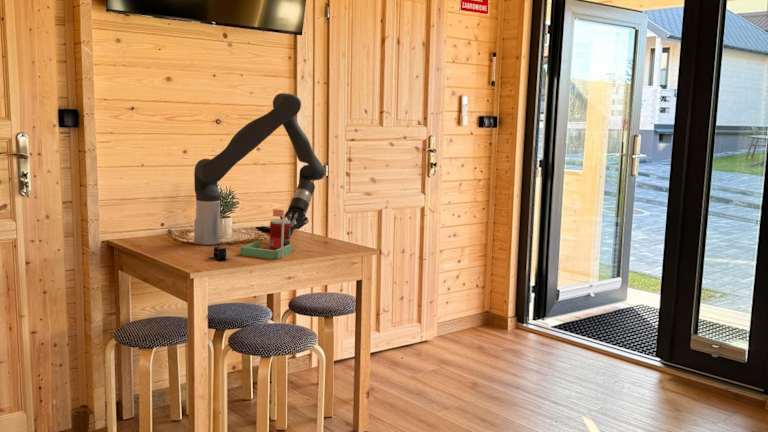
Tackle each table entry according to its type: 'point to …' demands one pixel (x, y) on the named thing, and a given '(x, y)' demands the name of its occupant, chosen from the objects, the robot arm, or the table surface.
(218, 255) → the black block
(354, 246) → the table surface
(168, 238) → the table surface
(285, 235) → the canned food
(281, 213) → the green u-shaped frame
